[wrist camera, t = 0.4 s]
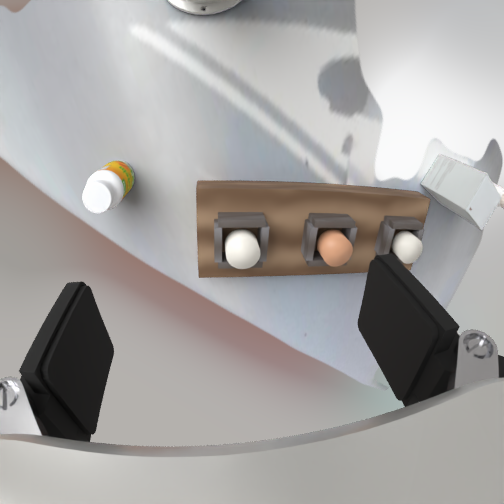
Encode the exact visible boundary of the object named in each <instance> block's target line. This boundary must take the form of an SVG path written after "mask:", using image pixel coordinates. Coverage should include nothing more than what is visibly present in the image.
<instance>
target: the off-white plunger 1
mask: <svg viewBox="0 0 504 504" xmlns="http://www.w3.org/2000/svg"><path fill="white" fill-rule="evenodd" d="M225 251H226V259H227V261H228V263H229V264H230V265H231V266H233V267H235V268H237V269H247V268H250V267H252V266H254V265H255V264H256V263H257V262H258V260H259V258H260V248H259V245H258V242H257V239H256V236H255V235H254V234H253V233H252V232H251V231H249V230H247V229H237V230H234V231H232V232H231V233H230V234H229V235H228V236H227V238H226V240H225Z"/></svg>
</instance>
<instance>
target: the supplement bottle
mask: <svg viewBox="0 0 504 504" xmlns="http://www.w3.org/2000/svg"><path fill="white" fill-rule="evenodd" d="M133 184H134V172H133V170H132V168H131V167H130V165H129V164H127V163H126V162H124V161H120V160H115V161H112V162H109V163H108V164H106V165H105V166H103V167H102V168H101V169H99V170H98V171H97V172H95V173H94V174H93V175H92V176H91V177H90V178H89V179H88V181H87V183H86V187H85V189H84V191H83V195H82V198H83V203H84V205H85V207H86V208H87V209H88V210H89V211H91V212H93V213H103V212H105V211H106V210H111V209H113V208H115V207H116V206H117V205H118V204H119V203H120V202H121V200H122V199H123V198H124V197H125V195H126V194H127V193H128V192H129V191H130V189H131V188H132V186H133Z"/></svg>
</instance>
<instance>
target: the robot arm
mask: <svg viewBox="0 0 504 504" xmlns="http://www.w3.org/2000/svg"><path fill="white" fill-rule="evenodd" d="M167 1H168V2H169V3H170V4H171V5H173V6H174V7H175V8H177V9H179V10H181V11H184V12H186V13H190V14H196V15H209V14H216V13H220V12H223V11H226V10H228V9H231V8H232V7H234V6H236V5H237V4H238V3H240V2H241V1H242V0H167ZM202 9H206V10H205V11H202ZM358 328H359V331H360V332H361V334H362V336H363V338H364V339H365V341H366V343H367V345H368V347H369V348H370V350H371V352H372V354H373V356H374V357H375V359H376V361H377V363H378V365H379V366H380V368H381V370H382V372H383V374H384V375H385V377H386V379H387V381H388V383H389V385H390V387H391V388H392V391H393V392H394V394H395V396H396V398H397V399H398V400H402V402H403V404H404V406H405V407H404V408H401V409H398V410H395V411H392V412H388V413H385V414H382V415H379V416H376V417H372V418H369V419H365V420H362V421H358V422H354V423H351V424H346V425H342V426H339V427H334V428H330V429H325V430H320V431H316V432H311V433H306V434H300V435H295V436H289V437H283V438H276V439H269V440H262V441H254V442H245V443H235V444H223V445H207V446H179V447H160V446H159V447H157V446H156V447H155V446H130V445H116V444H105V443H94V442H90V438H91V434H94V433H95V431H96V427H97V422H98V417H99V412H100V408H101V403H102V399H103V394H104V390H105V386H106V382H107V378H108V374H109V370H110V366H111V363H112V359H113V355H114V348H113V344H112V342H111V340H110V337H109V335H108V332H107V330H106V327H105V325H104V322H103V320H102V318H101V315H100V312H99V310H98V307H97V304H96V302H95V299H94V296H93V293H92V290H91V288H90V287H89V286H86V284H85V283H84V282H71V283H67V284H66V286H65V287H64V289H63V290H62V292H61V294H60V295H59V297H58V299H57V301H56V302H55V304H54V306H53V307H52V309H51V311H50V312H49V314H48V316H47V318H46V320H45V321H44V323H43V325H42V327H41V329H40V330H39V332H38V334H37V336H36V338H35V340H34V342H33V344H32V346H31V348H30V349H29V351H28V353H27V355H26V357H25V360H24V362H23V364H22V366H21V368H20V370H19V371H20V373H21V375H22V376H21V379H20V380H19V379H17V378H15V377H5V378H3V379H0V504H504V357H503V356H500V355H498V350H497V346H496V344H495V342H494V340H493V339H492V338H491V337H490V336H488V335H487V334H485V333H484V332H481V331H478V330H466V331H464V332H463V333H462V334H461V335H459V334H458V333H457V331H458V328H459V325H458V324H457V323H456V322H455V321H454V319H453V318H452V317H451V316H450V315H449V314H448V313H447V311H446V310H445V309H444V308H443V307H442V306H441V305H440V304H439V302H438V301H437V300H436V299H435V298H434V297H433V296H432V295H431V294H430V293H429V291H428V290H427V289H426V288H425V287H424V286H423V285H422V284H421V283H420V282H419V281H418V280H417V279H416V278H415V277H414V276H413V275H412V273H411V272H410V271H409V270H408V269H407V268H406V267H405V266H404V265H403V264H402V263H401V262H400V261H399V260H398V259H397V258H396V257H395V256H394V255H393V254H383V255H376V256H375V258H374V260H371V262H370V264H369V270H368V275H367V280H366V286H365V291H364V296H363V300H362V305H361V310H360V314H359V319H358Z"/></svg>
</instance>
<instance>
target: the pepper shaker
mask: <svg viewBox="0 0 504 504" xmlns="http://www.w3.org/2000/svg"><path fill="white" fill-rule="evenodd" d="M493 184H494V186H495V188H496V189H497V191H498V193H499V194H500V196H501V200H500V202H499V203H498V205H497V206H501V207H502V208H504V188H503V187H501V186H499V185H497V184H495V183H493Z"/></svg>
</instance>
